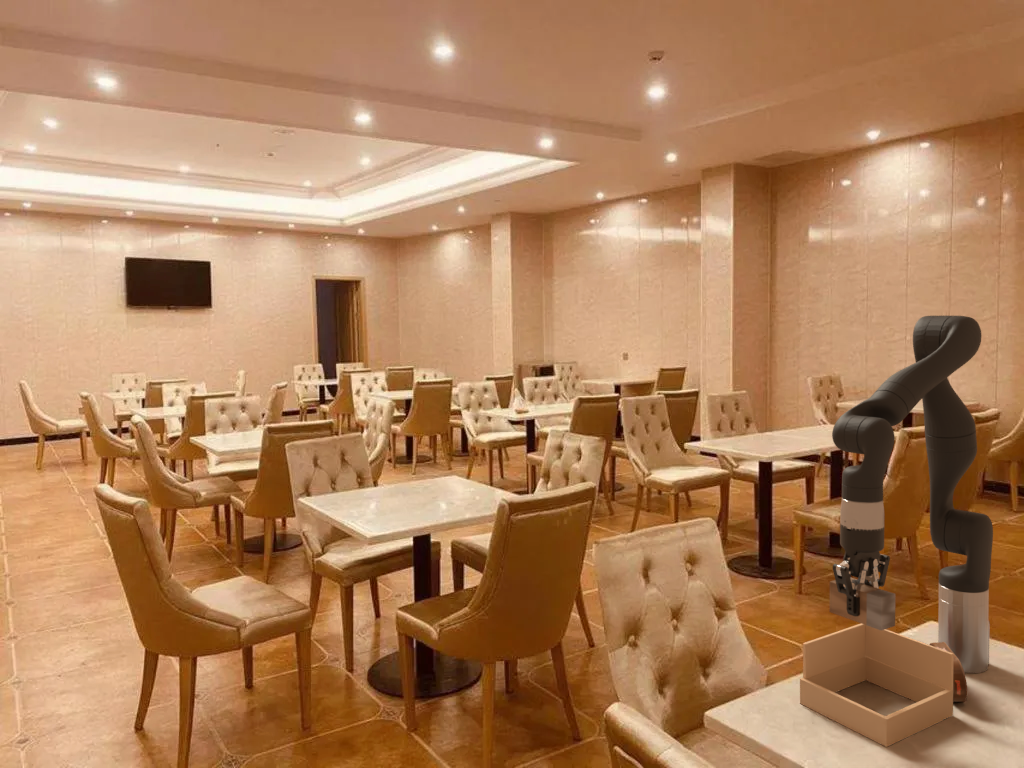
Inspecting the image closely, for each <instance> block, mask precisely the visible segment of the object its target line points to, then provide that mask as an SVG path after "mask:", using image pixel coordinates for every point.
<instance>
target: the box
mask: <svg viewBox="0 0 1024 768" xmlns="http://www.w3.org/2000/svg"><path fill="white" fill-rule="evenodd" d="M843 585H844V584H843ZM844 587H845V585H844ZM854 587H855V584H854V583H852V588H853V590H854ZM859 597H860V615H859V616H856V617H855V616H852V615H849V614H848V613H847V596H846V594H843V593H840V592H838V589H837V584H836V580H835V579H834V580H830V581H829V613H831V614H834V615H837V616H839V617H843V618H845V619H848V620H851V621H853V622H857V623H858V624H861V623H862V624H864V625H867V626H870V627H873V628H876V629H878V630H884V629H886V630H888V629H890V628H893V627H895V626H896V593H894V592H891V591H888V590H884V589H881V588H879V589H878V588H875V587H872V586H868V585H865V584H864V585H862V586H861V590H860V595H859Z"/></svg>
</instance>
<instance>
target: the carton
mask: <svg viewBox="0 0 1024 768" xmlns="http://www.w3.org/2000/svg"><path fill="white" fill-rule="evenodd" d="M953 655H954V654H953V653H950V652H948V651H945V650H942V649H939V648H936V647H934V646H931V645H929V644H927V643H924V642H921V641H919V640H918V639H917V640H916V639H914V638H910V637H908V636H906V635H903V634H900V633H897V632H894V631H892V630H890V629H884V630H878V629H876V628H873V627H870V626H867V625H864V624H862V623H858V624H855V625H852V626H849V627H847V628H843V629H840V630H839V631H835V632H832V633H829V634H825V635H823V636H820V637H817V638H815V639H812V640H808V641H805V642H803V643H802V677H800V678H799V704H801V705H802V706H804V707H807V708H808V709H810V710H812V711H814V712H816V713H818V714H820V715H822V716H824V717H826V718H828V719H831V720H832V721H833V722H837V723H838V724H840V725H842V726H844V727H846V728H848V729H850V730H851V731H854V732H856V733H858V734H859V735H862V736H864V737H866V738H868V739H870V740H872V741H874V742H876V743H878V744H880V745H882V746H883V747H886V748H888V747H889V746H891V745H894V744H896V743H898V742H900V741H902V740H905V739H906V738H909V737H911V736H912V735H915V734H916V733H919V732H921V731H922V730H923V731H924V730H926V729H927V728H930V727H932V726H934V725H935V724H937V723H940V722H942V721H944V720H943V719H945V720H947V719H949V718H951V717H952V716H954V713H953V712H954V702H953ZM866 681H867V682H868V683H871V684H874V685H876V686H878V687H881V688H882V689H886V690H887V691H891V692H893V693H895V694H897V695H900V696H902V697H904V698H906V699H908V698H909V699H908V700H910V699H911V700H910V701H912V702H913V701H914V703H912V704H910V705H907V706H905V707H904V708H901V709H898V710H897V711H893V712H892V713H889V714H887V715H884V714H881V713H879V712H877V711H875V710H872V709H871V708H868V707H866V706H864V705H862V704H860V703H858V702H856V701H855V700H854V701H853V700H851V699H849V698H847V697H845V696H843V695H841V694H838V692H840V691H842V690H845V689H847V688H849V687H852V686H855V685H857V684H860V683H862V682H866ZM950 716H951V717H950ZM948 717H949V718H948ZM946 718H947V719H946Z"/></svg>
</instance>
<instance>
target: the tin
mask: <svg viewBox="0 0 1024 768" xmlns="http://www.w3.org/2000/svg"><path fill="white" fill-rule="evenodd" d="M928 645H931V646H934V647H936V648H939V649H942V650H945V651H948V652H950V653H953V652H952V651H951V649H950V648H949V647H948V646H947V644H946V643H945V642H939V643H938V642H930V643H929V644H928ZM953 654H954V653H953ZM967 683H968V682H967V677H966V672H964V670H963V667H962V665H961V662H960V661H959V659H958V658H957V657H956V655H955V654H954V655H953V703H955V702H956V703H957V702H959V703H965V702H966V701H967V698H968V684H967Z"/></svg>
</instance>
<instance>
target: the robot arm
mask: <svg viewBox="0 0 1024 768" xmlns="http://www.w3.org/2000/svg"><path fill="white" fill-rule="evenodd" d="M981 342H982V330H981V327H980V324H979V323H978V321H977V320H976V319H975V318H973V317H970V316H966V315H925V316H922V317H920V318H918V320H916V323H915V325H914V327H913V333H912V348H913V354H914V359H915V362H914V363H913V364H910V365H908V366H906V367H904V368H902V369H899V370H898V371H897V372H895V373H893V374H891V376H889V377H888V378H886V380H884V381H883V383H881V385H880V386H879V387H878V388H877V389H876V390H875V391H874V392H873V393H872V395H871V396H870V397H869V398H867V399H864V400H863V401H861V402H860V403H858V404H856V405H855V406H853V407H851V408H849V409H848V410H847V411H845V412H844V413H843V414H842V415H840V417H839V418H837V420H836V422H835V424H834V425H833V428H832V434H831V435H832V436H831V437H832V442H833V444H834V445H835V447H836V448H838V450H841V451H843V452H846V453H850V454H851V453H852V454H858V455H863V459H862V462H861V464H858V465H850V466H847V467H845V468H844V469H843V471H842V474H841V502H840V511H839V515H840V516H839V518H840V519H839V530H840V531H839V544H840V546H841V547H842V548H843V549H844V555H843V557H842V559H843V560H842V562H841V563H839V564H838V563H834V564H832V572H833V576H834V580H836V584H837V589H838V592H840V593H843V594H846V596H847V613H848V614H849V615H852V616H855V617H856V616H859V615H860V597H859V595H860V590H861V586H862V585H864V584H865V585H868V586H872V587H875V588H878V589H880V587H884V586H885V583H886V579H887V574H888V569H889V565H890V560H891V557H890V556H889V555H888V554H882V553H880V552H881V551H883V550H884V548H885V507H884V478H885V474H886V471H887V467H888V464H889V461H890V458H891V454H892V452H893V449H894V445H895V432H894V428H893V427H895V426H898V425H899V424H900V423H901V422H902V421H904V420H905V419H906V417H907V416H908V415H909V414H910V413H911V411H912V410H913V409H914V408H915V407H916V405H918V403H919V402H920V401H921V400H922V409H923V411H922V412H923V421H924V423H923V424H924V437H925V438H924V439H925V447H926V455H927V456H926V457H927V465H928V475H929V531H930V532H929V533H930V537H931V538H930V540H931V541H932V545H933V546H934V547H935V548H936V549H937V550H940V551H944V552H946V553H947V552H948V553H951V554H957V555H962V556H966V562H965V563H964V564H959V565H949V566H945V567H943V568H941V569H940V570H939V572H938V626H937V627H938V628H937V629H938V630H937V631H938V633H937V634H938V635H937V636H938V637H937V643H939V642H945V643H946V644H947V646H948V647H949V648H950V649H951V651H952V652H953V653H954V654H955V655H956V657H957V658H958V659H959V661H960V662H961V665H962V667H963V670H964V673H965V674H966V673H967V674H968V673H969V674H975V673H976V674H977V673H979V674H980V673H983V672H985V671H987V670H988V665H989V663H990V630H991V629H990V626H991V624H990V620H989V609H990V608H989V605H990V604H989V602H990V601H989V600H990V599H989V598H990V597H989V595H990V594H989V593H990V591H989V589H990V578H991V572H992V571H991V570H992V569H991V568H992V553H993V551H992V550H993V540H994V527H993V523H992V519H991V518H990V517H989V516H988V515H987V514H985V513H980V512H976V511H970V510H969V511H968V510H961V509H957V508H956V509H955V507H954V502H953V501H954V500H953V499H954V492H955V489H956V487H957V485H958V484H959V482H960V481H961V479H962V478H963V476H964V474H965V473H966V472H967V471H968V469H969V468H970V467H971V465H972V464H973V463H974V460H975V459H976V456H977V452H978V443H977V442H978V441H977V428H976V423H975V419H974V417H973V415H972V413H971V411H970V410H969V409H968V407H967V406H966V404H965V403H964V401H963V400H962V399H961V397H959V395H958V393H956V391H955V389H954V388H953V387H952V385H951V383H950V380H949V377H950V376H951V375H953V374H954V373H955V372H956V371H957V370H959V369H960V368H962V367H963V366H964V365H965V364H966V363H968V362H969V361H970V360H972V359H973V358H974V356H975V355H976V354H977V352H978V351H979V348H980V346H981ZM879 573H880V574H879ZM852 583H854V584H855V587H854V590H853V588H852ZM843 584H844V585H845V587H844V585H843Z"/></svg>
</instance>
